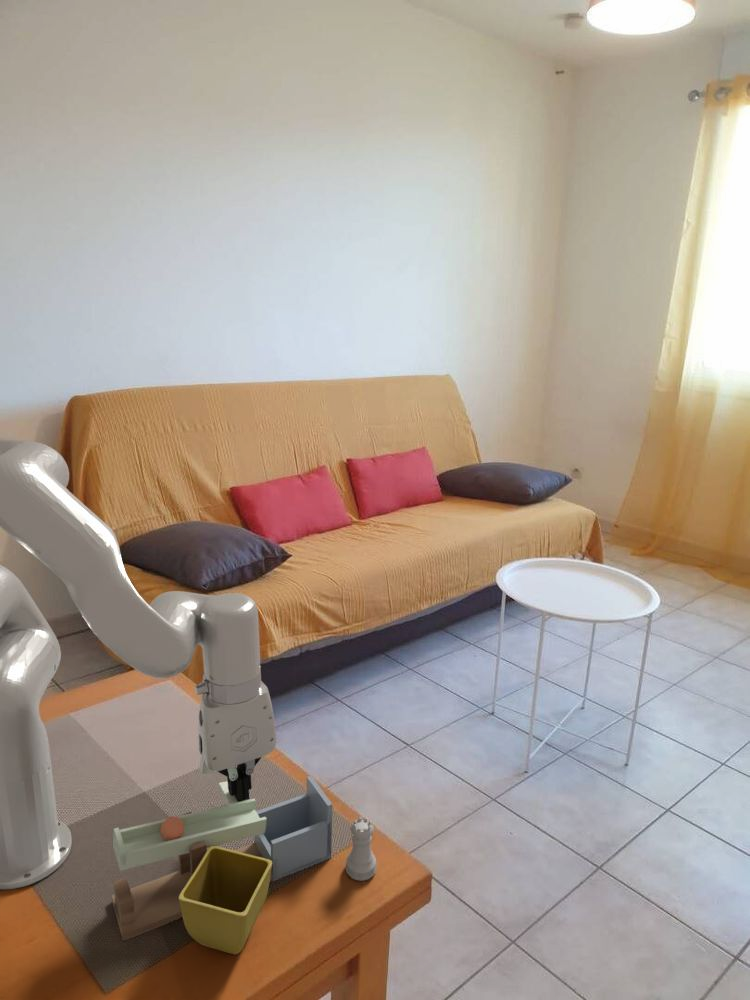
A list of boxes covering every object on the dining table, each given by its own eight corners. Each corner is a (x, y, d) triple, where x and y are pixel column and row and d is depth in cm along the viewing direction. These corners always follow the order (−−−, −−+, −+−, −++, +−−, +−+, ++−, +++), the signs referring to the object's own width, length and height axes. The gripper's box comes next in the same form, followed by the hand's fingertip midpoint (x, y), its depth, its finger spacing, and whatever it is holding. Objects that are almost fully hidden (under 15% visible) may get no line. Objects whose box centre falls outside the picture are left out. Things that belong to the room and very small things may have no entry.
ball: (183, 811, 95) (176, 831, 95) (162, 811, 93) (154, 832, 93) (190, 826, 92) (183, 846, 92) (168, 826, 90) (160, 847, 91)
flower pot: (244, 975, 86) (244, 916, 83) (178, 955, 88) (176, 897, 85) (272, 915, 94) (273, 860, 91) (211, 898, 96) (210, 844, 93)
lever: (102, 813, 97) (103, 796, 96) (236, 783, 107) (238, 768, 106) (120, 870, 88) (121, 852, 87) (265, 832, 98) (266, 816, 97)
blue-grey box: (254, 847, 105) (253, 794, 102) (310, 826, 109) (311, 775, 107) (273, 881, 99) (272, 825, 96) (331, 857, 104) (332, 804, 101)
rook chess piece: (357, 853, 105) (359, 807, 102) (383, 868, 102) (385, 821, 100) (338, 872, 101) (339, 825, 99) (364, 888, 99) (365, 840, 96)
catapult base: (112, 901, 95) (106, 840, 92) (254, 848, 105) (253, 790, 102) (123, 941, 89) (117, 877, 87) (272, 880, 99) (272, 821, 96)
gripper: (187, 712, 91) (197, 831, 96) (295, 681, 98) (298, 793, 104) (171, 685, 97) (181, 797, 103) (273, 657, 104) (278, 764, 110)
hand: (240, 795), depth 103 cm, fingers closed
